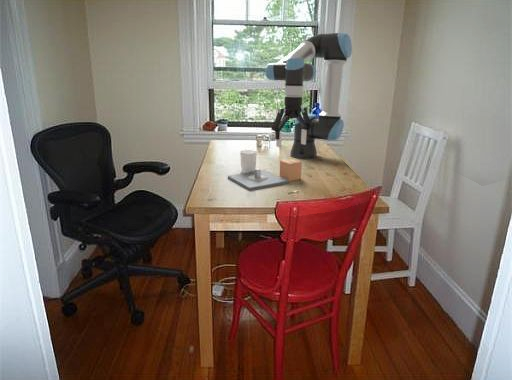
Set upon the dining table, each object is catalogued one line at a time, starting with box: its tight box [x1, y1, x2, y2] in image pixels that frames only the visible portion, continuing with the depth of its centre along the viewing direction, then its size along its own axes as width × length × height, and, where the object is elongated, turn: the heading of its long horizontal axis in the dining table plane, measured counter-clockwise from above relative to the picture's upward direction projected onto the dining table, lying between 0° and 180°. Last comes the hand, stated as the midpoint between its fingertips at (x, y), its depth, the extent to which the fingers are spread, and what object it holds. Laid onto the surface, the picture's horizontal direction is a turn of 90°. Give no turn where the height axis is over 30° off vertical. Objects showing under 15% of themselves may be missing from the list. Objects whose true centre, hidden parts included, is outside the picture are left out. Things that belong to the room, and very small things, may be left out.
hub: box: [227, 168, 290, 191], centre depth 161 cm, size 20×20×5 cm
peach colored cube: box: [279, 158, 303, 182], centre depth 164 cm, size 7×7×8 cm
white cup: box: [239, 149, 258, 173], centre depth 174 cm, size 8×8×10 cm
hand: (291, 145), depth 161 cm, fingers open, 13 cm apart
